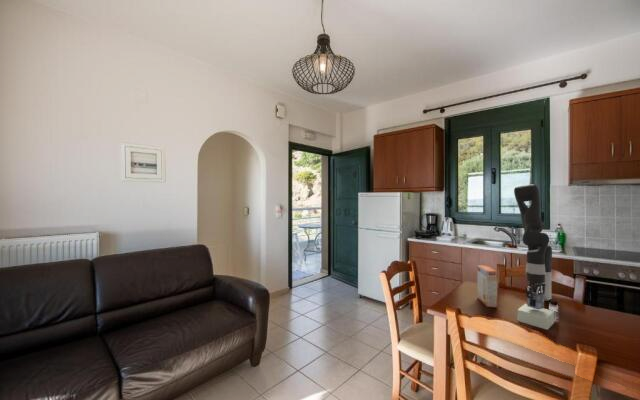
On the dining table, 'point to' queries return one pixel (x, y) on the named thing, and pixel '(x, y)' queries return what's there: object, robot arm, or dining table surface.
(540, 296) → the slate block
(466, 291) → the dining table surface
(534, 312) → the sage block
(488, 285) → the cracker box
